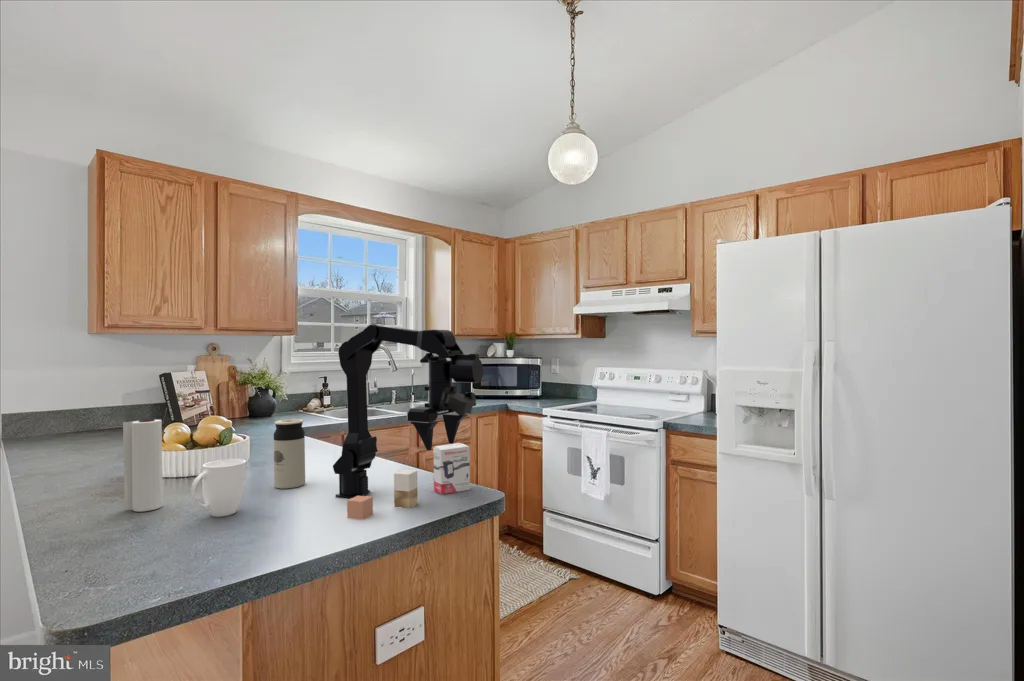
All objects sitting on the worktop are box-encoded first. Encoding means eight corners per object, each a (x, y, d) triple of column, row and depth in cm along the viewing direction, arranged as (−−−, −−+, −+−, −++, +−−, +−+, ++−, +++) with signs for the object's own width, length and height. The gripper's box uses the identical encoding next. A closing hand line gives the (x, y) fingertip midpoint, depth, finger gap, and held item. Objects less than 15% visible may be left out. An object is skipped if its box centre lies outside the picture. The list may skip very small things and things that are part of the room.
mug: (230, 505, 131) (230, 456, 131) (253, 511, 126) (253, 460, 126) (181, 519, 120) (181, 466, 120) (204, 526, 116) (205, 471, 116)
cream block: (394, 490, 128) (394, 473, 128) (403, 485, 131) (402, 469, 131) (409, 491, 126) (408, 474, 126) (417, 487, 130) (417, 470, 130)
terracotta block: (347, 518, 120) (347, 500, 120) (358, 512, 124) (357, 495, 124) (362, 519, 119) (362, 501, 119) (372, 514, 123) (372, 496, 123)
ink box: (441, 495, 137) (441, 449, 137) (433, 490, 141) (432, 446, 141) (470, 489, 142) (470, 445, 142) (462, 485, 146) (461, 442, 146)
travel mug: (297, 480, 154) (296, 418, 155) (310, 485, 149) (309, 420, 149) (269, 485, 149) (268, 421, 149) (281, 491, 143) (280, 423, 143)
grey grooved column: (168, 506, 131) (167, 419, 131) (142, 513, 125) (141, 422, 125) (150, 503, 134) (149, 417, 134) (124, 510, 128) (122, 421, 129)
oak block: (394, 507, 127) (394, 490, 128) (403, 502, 131) (403, 485, 131) (409, 508, 126) (409, 491, 126) (417, 503, 130) (417, 487, 130)
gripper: (445, 386, 116) (446, 457, 116) (488, 380, 133) (488, 442, 133) (405, 384, 122) (405, 452, 122) (451, 378, 138) (451, 439, 138)
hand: (440, 446), depth 128 cm, fingers open, 9 cm apart
